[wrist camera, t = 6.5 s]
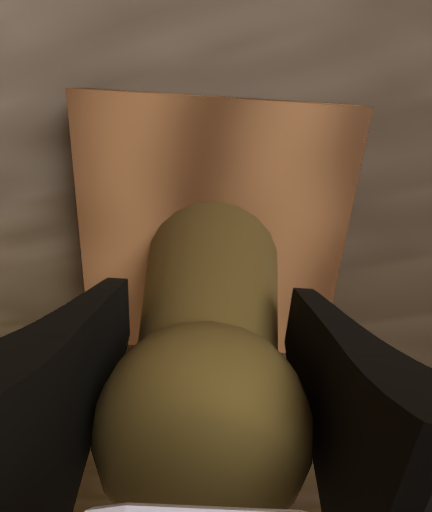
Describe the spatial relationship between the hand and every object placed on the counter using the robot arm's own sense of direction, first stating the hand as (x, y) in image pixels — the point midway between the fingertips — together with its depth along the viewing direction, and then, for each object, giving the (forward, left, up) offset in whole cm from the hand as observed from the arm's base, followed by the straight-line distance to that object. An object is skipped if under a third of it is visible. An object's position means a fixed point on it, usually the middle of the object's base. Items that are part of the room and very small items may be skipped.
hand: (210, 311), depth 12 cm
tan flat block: (0, 0, -8) cm, 8 cm away
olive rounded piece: (0, +1, -6) cm, 6 cm away
